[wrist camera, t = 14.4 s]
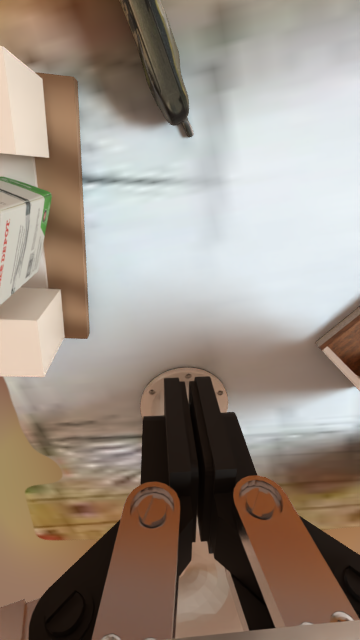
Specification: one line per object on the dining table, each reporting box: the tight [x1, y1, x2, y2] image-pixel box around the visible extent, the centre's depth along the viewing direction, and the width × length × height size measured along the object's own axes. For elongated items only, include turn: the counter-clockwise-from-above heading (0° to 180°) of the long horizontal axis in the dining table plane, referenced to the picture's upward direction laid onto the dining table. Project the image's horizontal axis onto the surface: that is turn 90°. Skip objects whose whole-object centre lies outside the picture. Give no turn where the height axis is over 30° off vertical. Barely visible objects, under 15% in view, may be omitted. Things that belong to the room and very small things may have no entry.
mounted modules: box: [0, 46, 65, 377], centre depth 28 cm, size 25×7×8 cm, turn 175°
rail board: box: [0, 73, 89, 339], centre depth 33 cm, size 26×12×2 cm, turn 175°
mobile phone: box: [119, 0, 194, 137], centre depth 26 cm, size 5×3×15 cm
